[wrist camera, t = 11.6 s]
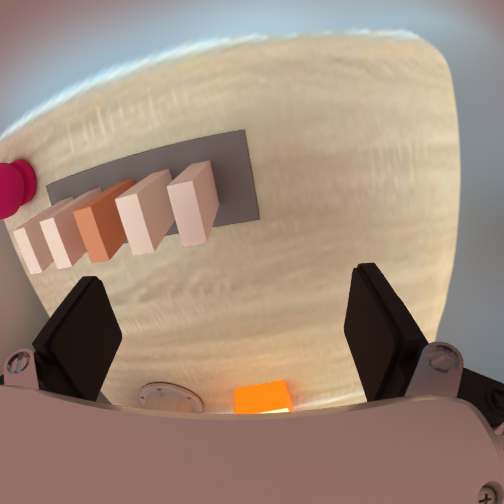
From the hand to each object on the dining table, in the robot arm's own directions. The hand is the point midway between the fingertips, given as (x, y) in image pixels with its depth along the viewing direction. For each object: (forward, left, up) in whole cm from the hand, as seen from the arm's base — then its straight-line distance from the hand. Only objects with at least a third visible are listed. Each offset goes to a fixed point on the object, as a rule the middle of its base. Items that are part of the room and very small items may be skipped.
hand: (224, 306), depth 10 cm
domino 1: (0, +22, -22) cm, 31 cm away
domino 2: (0, +17, -22) cm, 28 cm away
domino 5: (0, +4, -22) cm, 22 cm away
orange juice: (-38, +3, -23) cm, 45 cm away
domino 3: (0, +13, -22) cm, 26 cm away
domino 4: (0, +8, -22) cm, 24 cm away
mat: (0, +12, -23) cm, 26 cm away
